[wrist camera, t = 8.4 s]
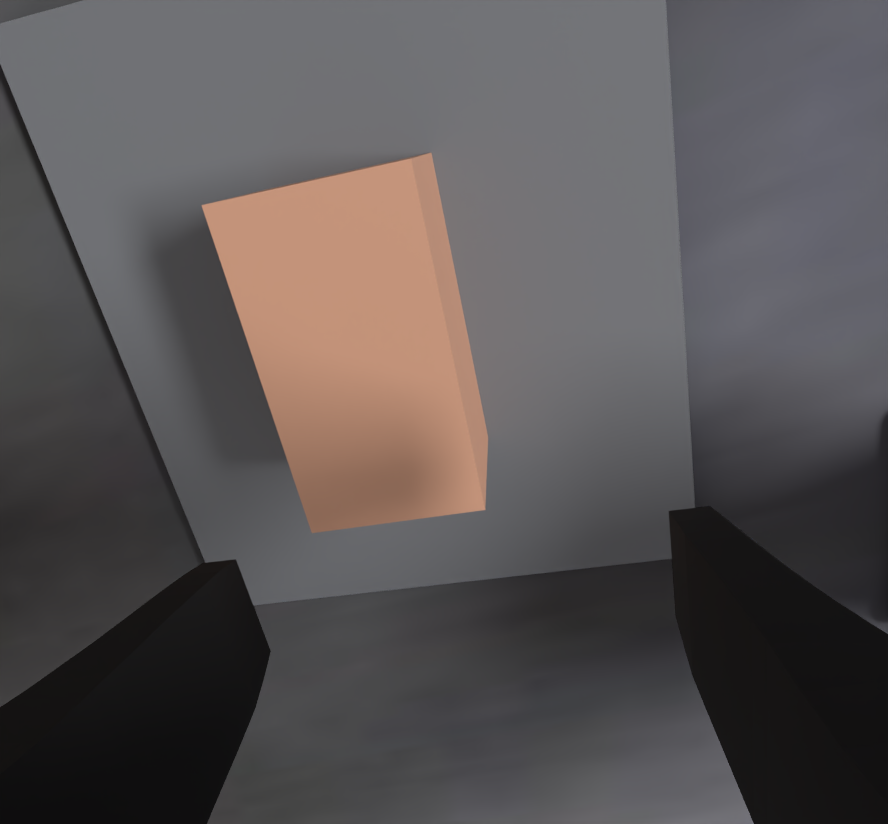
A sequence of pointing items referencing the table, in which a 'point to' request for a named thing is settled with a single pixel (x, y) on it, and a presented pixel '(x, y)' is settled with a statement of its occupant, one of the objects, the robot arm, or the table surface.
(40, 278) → the table surface
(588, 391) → the mat
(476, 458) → the light orange rectangular block
